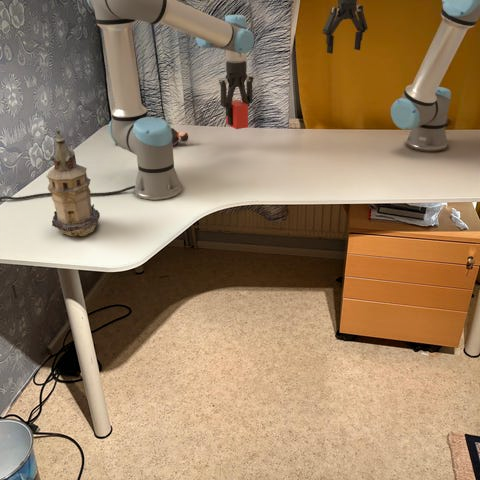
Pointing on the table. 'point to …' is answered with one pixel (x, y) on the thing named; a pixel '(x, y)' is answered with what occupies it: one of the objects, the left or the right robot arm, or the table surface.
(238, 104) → the block
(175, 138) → the toy
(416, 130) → the right robot arm
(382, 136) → the table surface
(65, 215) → the miniature building
